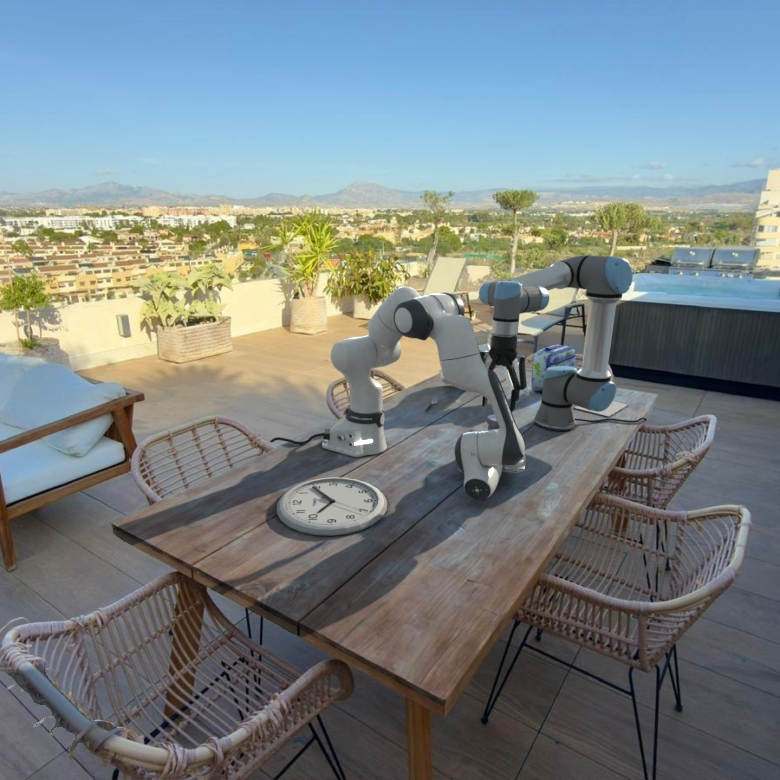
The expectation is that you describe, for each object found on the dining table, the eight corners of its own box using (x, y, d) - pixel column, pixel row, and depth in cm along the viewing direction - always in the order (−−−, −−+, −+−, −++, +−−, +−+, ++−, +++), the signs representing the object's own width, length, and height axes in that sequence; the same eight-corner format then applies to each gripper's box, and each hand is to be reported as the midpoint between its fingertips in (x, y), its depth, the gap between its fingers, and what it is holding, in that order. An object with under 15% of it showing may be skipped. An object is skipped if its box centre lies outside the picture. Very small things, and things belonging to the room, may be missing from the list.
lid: (484, 425, 161) (484, 419, 160) (490, 418, 166) (490, 413, 166) (504, 428, 158) (504, 422, 158) (509, 422, 163) (510, 416, 163)
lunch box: (547, 397, 237) (552, 352, 231) (526, 391, 245) (531, 348, 238) (574, 386, 255) (580, 344, 249) (554, 381, 262) (559, 340, 256)
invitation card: (608, 416, 214) (573, 407, 224) (608, 416, 214) (573, 408, 224) (628, 404, 229) (594, 396, 238) (628, 405, 229) (594, 397, 238)
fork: (422, 411, 216) (422, 407, 215) (433, 400, 230) (433, 396, 230) (428, 412, 215) (429, 407, 215) (438, 401, 230) (439, 396, 229)
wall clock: (392, 527, 129) (268, 531, 127) (391, 533, 130) (269, 537, 127) (383, 473, 158) (282, 475, 155) (383, 478, 158) (282, 480, 156)
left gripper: (524, 462, 149) (529, 444, 161) (454, 450, 155) (464, 434, 168) (522, 482, 151) (527, 462, 163) (453, 470, 157) (463, 452, 170)
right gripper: (543, 336, 152) (535, 410, 159) (475, 328, 162) (470, 398, 168) (536, 341, 146) (528, 417, 152) (466, 332, 155) (461, 405, 162)
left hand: (495, 448), depth 165 cm, fingers closed on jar, 5 cm apart
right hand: (498, 407), depth 160 cm, fingers open, 8 cm apart
